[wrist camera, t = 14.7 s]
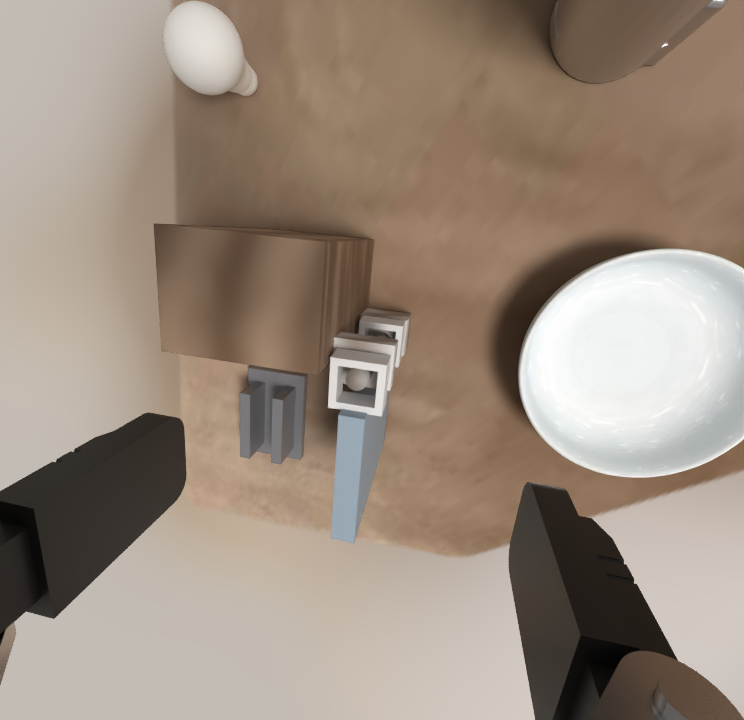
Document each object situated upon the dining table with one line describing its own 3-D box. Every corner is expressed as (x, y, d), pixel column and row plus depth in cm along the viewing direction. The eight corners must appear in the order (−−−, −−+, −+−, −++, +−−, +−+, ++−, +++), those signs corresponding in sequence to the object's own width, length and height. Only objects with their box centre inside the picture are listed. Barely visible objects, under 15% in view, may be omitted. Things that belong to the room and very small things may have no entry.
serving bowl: (496, 271, 42) (505, 277, 35) (736, 224, 37) (797, 221, 31) (521, 453, 47) (532, 488, 40) (734, 433, 42) (786, 469, 36)
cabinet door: (408, 313, 43) (384, 370, 29) (393, 443, 49) (366, 545, 35) (369, 308, 44) (326, 361, 29) (358, 437, 50) (318, 535, 35)
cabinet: (420, 244, 42) (400, 250, 25) (407, 346, 46) (382, 411, 29) (266, 228, 45) (153, 223, 28) (264, 326, 48) (163, 375, 31)
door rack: (307, 374, 49) (292, 388, 44) (303, 455, 52) (288, 477, 47) (252, 365, 50) (231, 378, 45) (251, 446, 53) (232, 466, 48)
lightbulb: (246, 32, 40) (173, -40, 29) (291, 82, 40) (235, 28, 30) (209, 86, 42) (130, 37, 31) (253, 133, 42) (188, 99, 32)
